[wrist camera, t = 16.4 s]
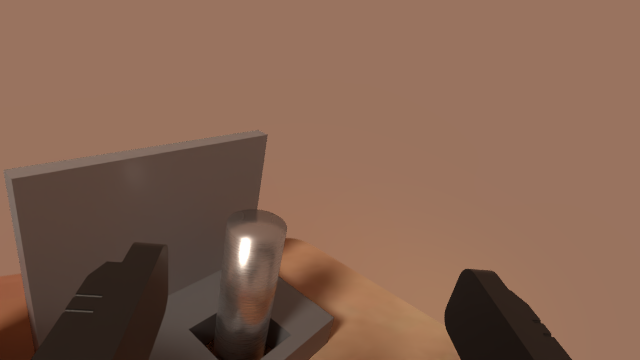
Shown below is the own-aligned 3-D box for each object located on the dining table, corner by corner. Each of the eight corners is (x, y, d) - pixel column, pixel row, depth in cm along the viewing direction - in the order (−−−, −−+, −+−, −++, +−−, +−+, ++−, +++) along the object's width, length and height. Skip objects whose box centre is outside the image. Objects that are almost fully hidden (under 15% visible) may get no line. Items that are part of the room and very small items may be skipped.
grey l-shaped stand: (327, 342, 34) (370, 184, 27) (125, 525, 20) (114, 296, 14) (239, 272, 40) (258, 130, 33) (39, 376, 26) (3, 170, 20)
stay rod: (272, 361, 31) (299, 229, 26) (233, 393, 28) (255, 250, 22) (240, 332, 33) (259, 204, 28) (201, 358, 30) (213, 220, 25)
